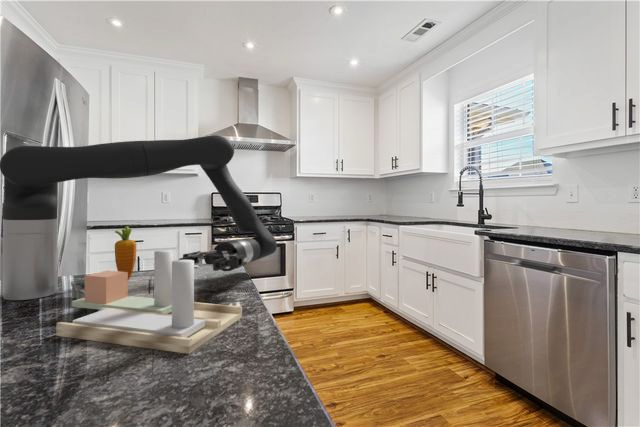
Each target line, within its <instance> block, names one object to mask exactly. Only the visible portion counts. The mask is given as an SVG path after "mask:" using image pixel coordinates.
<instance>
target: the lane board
mask: <svg viewBox="0 0 640 427" xmlns="http://www.w3.org/2000/svg"><path fill="white" fill-rule="evenodd" d="M134 297H137V296H134ZM144 298H147V297H145V296H144ZM104 309H109V310H119V311H128V312H137V313H146V314H155V315H164V316H172V312H170V313H168V314H162V313H152V312H143V311H134V310H124V309H115V308H106V307H103V308H100V309H98V311H101V310H104ZM242 318H243V306H238V305H230V304H229V305H228V304H218V303H217V304H216V303H207V302H197V301H194V319H201V320H205V326H204V327H203V328H201V329H199V330H198V331H196V332H195V333H193V334H191V335H190V336H188V337H178V336H170V335H162V334H154V333H146V332H138V331H130V330H122V329H114V328H106V327H98V326H90V325H82V324H74V323H73V322H66V321H65V322H64V321H59V322H56V336H57V337H65V338H72V339H79V340H84V341H85V340H86V341H93V342H101V343H109V344H114V345H123V346H129V347H137V348H143V349H144V348H145V349H151V350H157V351H158V350H159V351H165V352H173V353H179V354H180V353H181V354H188V355H189V354H191V353H193V352H194V351H195V350H197V349H198V348H200V347H202V346H203V345H205V344H206V343H207V342H208V341H210V340H212V339H213V338H214V337H216V336H217V335H219V334H220V333H221V332H223V331H225V330H226V329H227V328H228V327H230V326H231V325H233V324H234V323H236V322H237V321H239V320H240V319H242Z"/></svg>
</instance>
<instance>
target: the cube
mask: <svg viewBox="0 0 640 427" xmlns="http://www.w3.org/2000/svg"><path fill="white" fill-rule="evenodd" d="M84 282H85V302H93V303H103V304H107V303H110V302H113V301H116V300H119V299H122V298H126V297H128V296H129V295H128V294H129V292H128V291H129V290H128V288H129V287H128V286H129V280H128V272H120V271H118V270H104V271H99V272H95V273H91V274H86V275H84Z"/></svg>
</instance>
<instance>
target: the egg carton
mask: <svg viewBox="0 0 640 427" xmlns="http://www.w3.org/2000/svg"><path fill="white" fill-rule="evenodd" d="M70 285H71V298H72V299H76V300H78V299H81V298H85V281H83V280H82V281H81V282H80V281H78V282H76V281H70Z"/></svg>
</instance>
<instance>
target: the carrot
mask: <svg viewBox="0 0 640 427" xmlns="http://www.w3.org/2000/svg"><path fill="white" fill-rule="evenodd" d="M114 233H116V234H117V235H119V236H120V238H121V240H118V241H116V242H115V243H114V256H115V257H114V259H115V260H114V261H115V265H116V269H117V270H116V271H120V272H128V281H129V280H130V279H131V277H132V274H133V272H134V268H135V264H136V260H137V242H136V241H135V240H133V239H130V235H131V234H132V228H130V227H129V226H128V225H127V226H126V225H125V226H124V228H122V229H121V231H119V230H118V229H117V230H114Z"/></svg>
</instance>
